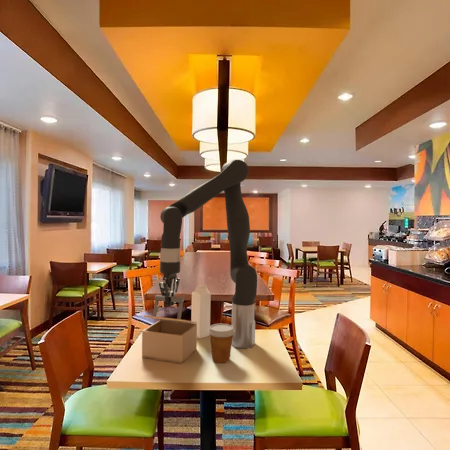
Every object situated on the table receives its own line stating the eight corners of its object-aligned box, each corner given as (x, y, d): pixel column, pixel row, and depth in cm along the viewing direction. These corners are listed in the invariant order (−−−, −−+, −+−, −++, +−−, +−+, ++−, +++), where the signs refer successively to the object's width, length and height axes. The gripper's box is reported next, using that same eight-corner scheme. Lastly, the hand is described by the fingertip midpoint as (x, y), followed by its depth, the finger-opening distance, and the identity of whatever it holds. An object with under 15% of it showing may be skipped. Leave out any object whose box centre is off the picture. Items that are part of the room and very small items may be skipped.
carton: (196, 349, 134) (196, 324, 134) (181, 363, 121) (182, 336, 121) (159, 344, 139) (160, 319, 139) (141, 357, 125) (142, 330, 125)
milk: (210, 335, 150) (211, 285, 149) (199, 338, 146) (200, 287, 145) (201, 331, 154) (202, 283, 153) (190, 334, 150) (191, 285, 149)
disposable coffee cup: (236, 356, 128) (237, 324, 128) (230, 366, 119) (230, 333, 119) (212, 352, 131) (213, 322, 131) (204, 363, 122) (204, 330, 121)
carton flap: (196, 323, 134) (199, 301, 137) (183, 321, 121) (187, 297, 124) (160, 319, 139) (163, 298, 141) (143, 316, 126) (147, 293, 128)
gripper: (171, 262, 120) (170, 311, 121) (186, 258, 133) (185, 302, 134) (152, 261, 122) (151, 309, 123) (169, 257, 136) (168, 301, 136)
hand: (169, 305), depth 128 cm, fingers closed on carton flap, 2 cm apart
